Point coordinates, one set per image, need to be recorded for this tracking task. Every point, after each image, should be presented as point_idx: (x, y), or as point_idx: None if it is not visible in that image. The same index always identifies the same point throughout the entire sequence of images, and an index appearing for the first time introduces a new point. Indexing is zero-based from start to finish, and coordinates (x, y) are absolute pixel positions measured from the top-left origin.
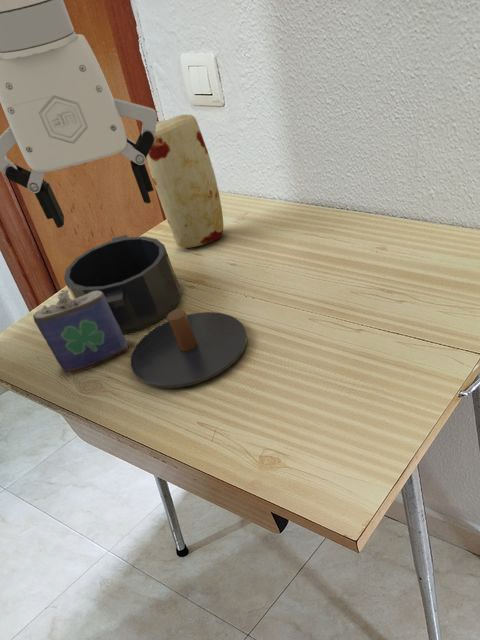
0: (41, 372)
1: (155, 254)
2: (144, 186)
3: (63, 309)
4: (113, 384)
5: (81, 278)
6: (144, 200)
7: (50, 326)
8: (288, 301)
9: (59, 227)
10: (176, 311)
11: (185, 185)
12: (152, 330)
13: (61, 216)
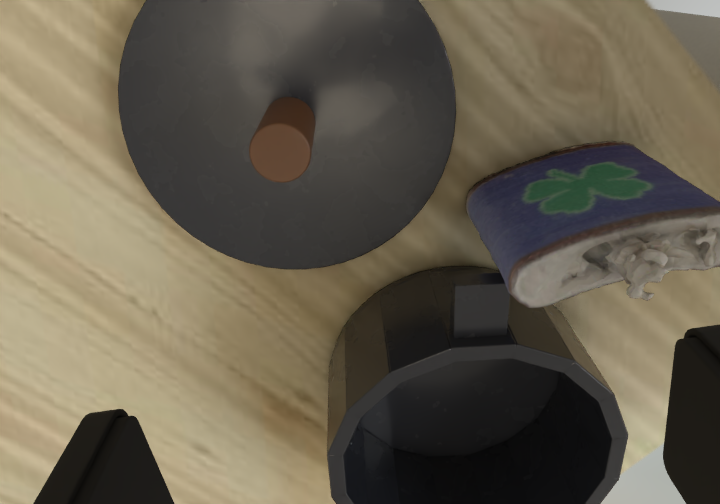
0: (698, 177)
1: (372, 493)
2: (42, 498)
3: (645, 235)
4: (509, 48)
5: (576, 457)
6: (118, 423)
7: (689, 198)
8: (31, 253)
9: (707, 326)
10: (279, 169)
11: None
12: (395, 232)
13: (690, 413)
